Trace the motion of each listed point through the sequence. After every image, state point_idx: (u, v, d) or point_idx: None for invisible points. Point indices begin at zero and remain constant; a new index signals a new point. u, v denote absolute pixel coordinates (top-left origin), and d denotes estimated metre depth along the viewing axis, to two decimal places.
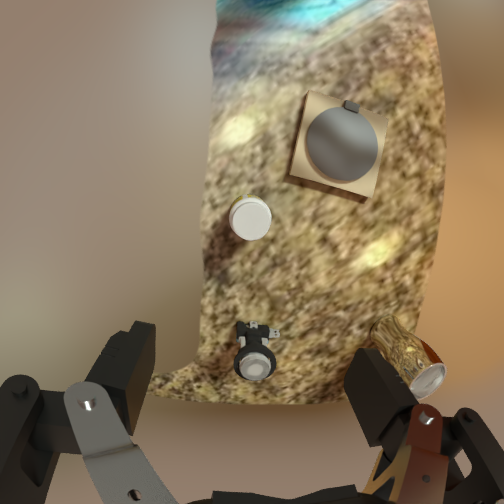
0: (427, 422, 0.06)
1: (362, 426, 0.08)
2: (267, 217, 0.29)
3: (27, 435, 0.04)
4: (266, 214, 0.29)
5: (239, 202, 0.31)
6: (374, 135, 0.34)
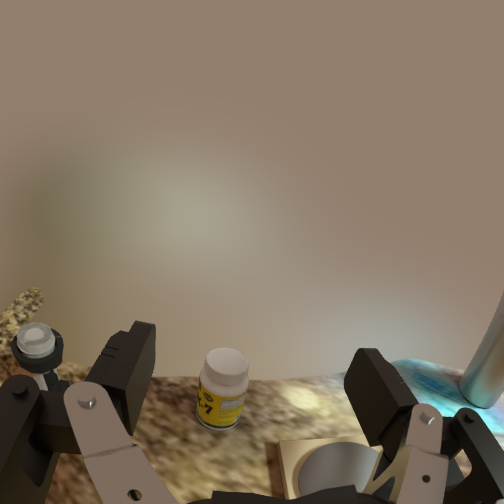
0: (427, 422, 0.06)
1: (362, 426, 0.08)
2: (237, 372, 0.23)
3: (27, 435, 0.04)
4: (240, 371, 0.23)
5: None
6: None
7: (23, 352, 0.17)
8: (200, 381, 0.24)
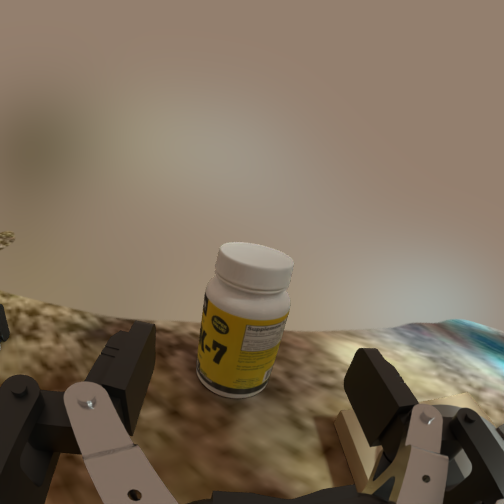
0: (427, 422, 0.06)
1: (362, 426, 0.08)
2: (276, 266, 0.14)
3: (27, 435, 0.04)
4: (281, 266, 0.14)
5: None
6: None
7: None
8: (206, 296, 0.15)
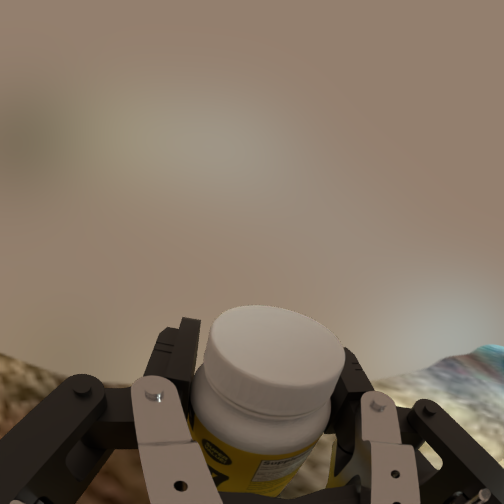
0: (376, 410, 0.07)
1: None
2: (320, 374, 0.06)
3: (81, 434, 0.04)
4: (329, 370, 0.07)
5: None
6: None
7: None
8: (192, 405, 0.08)
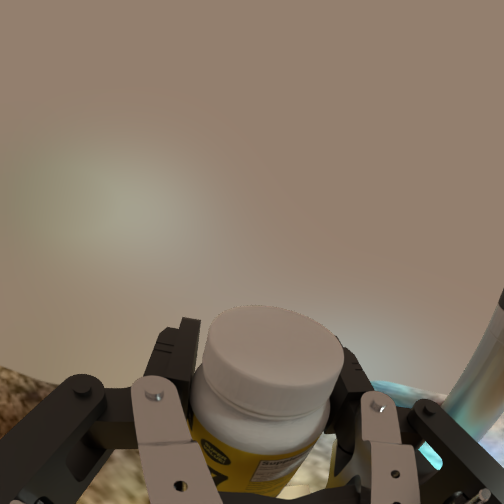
0: (376, 410, 0.07)
1: None
2: (319, 374, 0.06)
3: (81, 434, 0.04)
4: (328, 370, 0.07)
5: None
6: None
7: None
8: (191, 405, 0.08)
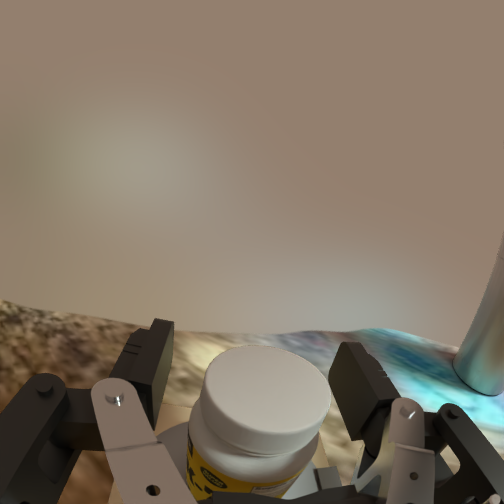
0: (407, 416, 0.06)
1: (345, 419, 0.09)
2: (305, 420, 0.07)
3: (48, 433, 0.04)
4: (314, 415, 0.07)
5: None
6: None
7: None
8: (190, 438, 0.08)
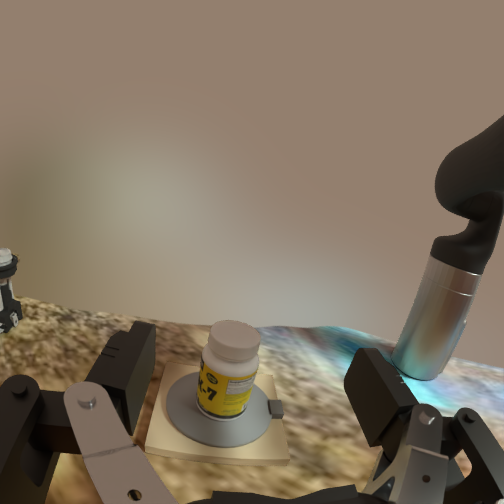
0: (427, 422, 0.06)
1: (362, 426, 0.08)
2: (247, 345, 0.20)
3: (27, 435, 0.04)
4: (251, 344, 0.20)
5: None
6: (249, 437, 0.20)
7: None
8: (203, 359, 0.21)
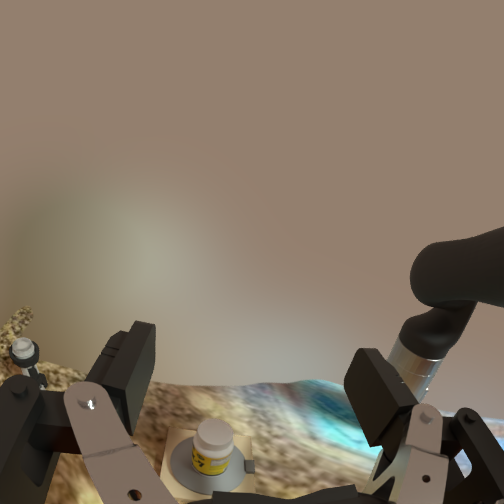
0: (427, 422, 0.06)
1: (362, 426, 0.08)
2: (223, 442, 0.25)
3: (27, 435, 0.04)
4: (225, 441, 0.25)
5: None
6: (228, 489, 0.25)
7: (15, 355, 0.27)
8: (193, 444, 0.26)
